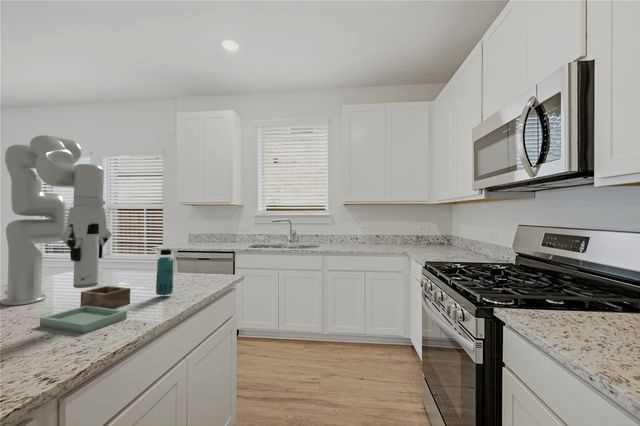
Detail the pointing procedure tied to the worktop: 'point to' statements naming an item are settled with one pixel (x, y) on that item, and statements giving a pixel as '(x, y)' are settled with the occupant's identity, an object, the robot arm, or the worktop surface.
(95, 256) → the travel mug
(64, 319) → the tray
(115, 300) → the box
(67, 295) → the worktop surface
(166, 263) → the beverage bottle
